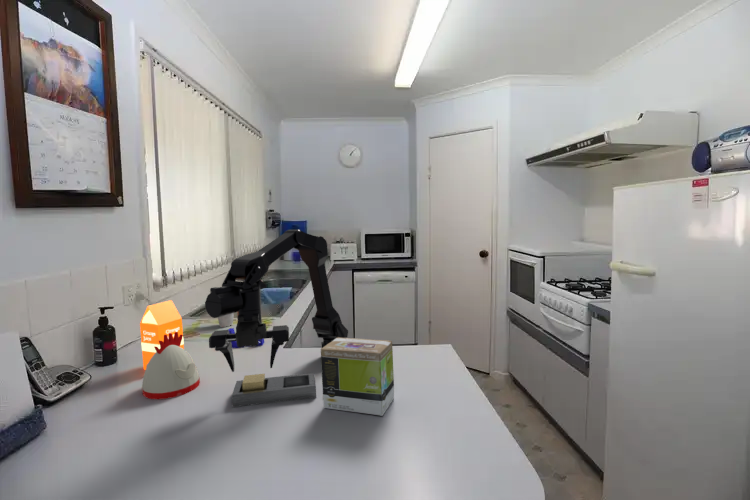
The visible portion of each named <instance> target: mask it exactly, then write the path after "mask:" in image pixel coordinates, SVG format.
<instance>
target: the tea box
mask: <svg viewBox="0 0 750 500" xmlns="http://www.w3.org/2000/svg"><path fill="white" fill-rule="evenodd" d="M393 351H394V350H393V340H388V339H387V340H386V339H385V340H384V339H370V338H357V337H356V338H355V337H353V338H352V337H351V338H350V337H347V338H340V337H337V338H336V339H334V340H333V341H332V342H330V343H329V344H327V345H326V346H324V347H323V348H321V347H320V360H321V361H320V363H321V364H320V365H321V384H322V385H321V387H322V401H323V402H322V404H323V408H324V409H331V410H337V411H338V410H339V411H346V412H350V413H351V412H353V413H361V414H368V415H375V416H381V417H382V416H384V414H385V412H386V411H387V410H388V408H389V407H390V405H391V403H392V402H393V401H394V399H395V382H394V381H395V378H394V377H395V374H394V356H393V355H394V354H393Z"/></svg>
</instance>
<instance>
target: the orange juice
mask: <svg viewBox="0 0 750 500" xmlns="http://www.w3.org/2000/svg"><path fill="white" fill-rule="evenodd" d="M182 319H183V318H182V316H181V314H180V312H179V310H178V309H177V307H176V306H175V303H174V302H173V300H172V299H170V300H166V301H162V302H159V303H154V304H151V305H147V306H146V309H145V311H144V313H143V316H142V317H141V320H140V322H139V330H140V341H141V343H140V344H141V353H142V366H143V370H144V371H145V370H146V365H147V364H148V363H149V361H150V359H151V358H152V357H153V355H154V354H155V353H156V350H155V348H154V346H155V347H158V348H159V349H160V344H159V340H160V341H163V342H164V335H167V337H168V339H169V333H172V336H173V339H174V334H175V332H178V337H179V336H180V334H181V335H183V337H182V341H181V344H180V347H181V348H183V349H184V350H185V340H184V331H183V320H182Z"/></svg>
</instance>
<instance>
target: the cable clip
mask: <svg viewBox="0 0 750 500" xmlns="http://www.w3.org/2000/svg"><path fill="white" fill-rule="evenodd" d="M227 330H229V333H230V334H233V333H236V330H235V328H234V327H233V328H232V327H231V328H228V329H227ZM231 343H232V349H240V348H245V347H246V346H244V347H238V346H237V342H236V341H231ZM264 343H265V339H260V340H258V345H256V346H255V347H257V346H258V347H259V346H263V345H264Z"/></svg>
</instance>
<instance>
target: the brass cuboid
mask: <svg viewBox="0 0 750 500" xmlns="http://www.w3.org/2000/svg"><path fill="white" fill-rule="evenodd" d="M265 378H266V373H257V374H248V375H243V383H242V386H243V392H249V391H258V390H266V386H265Z"/></svg>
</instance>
